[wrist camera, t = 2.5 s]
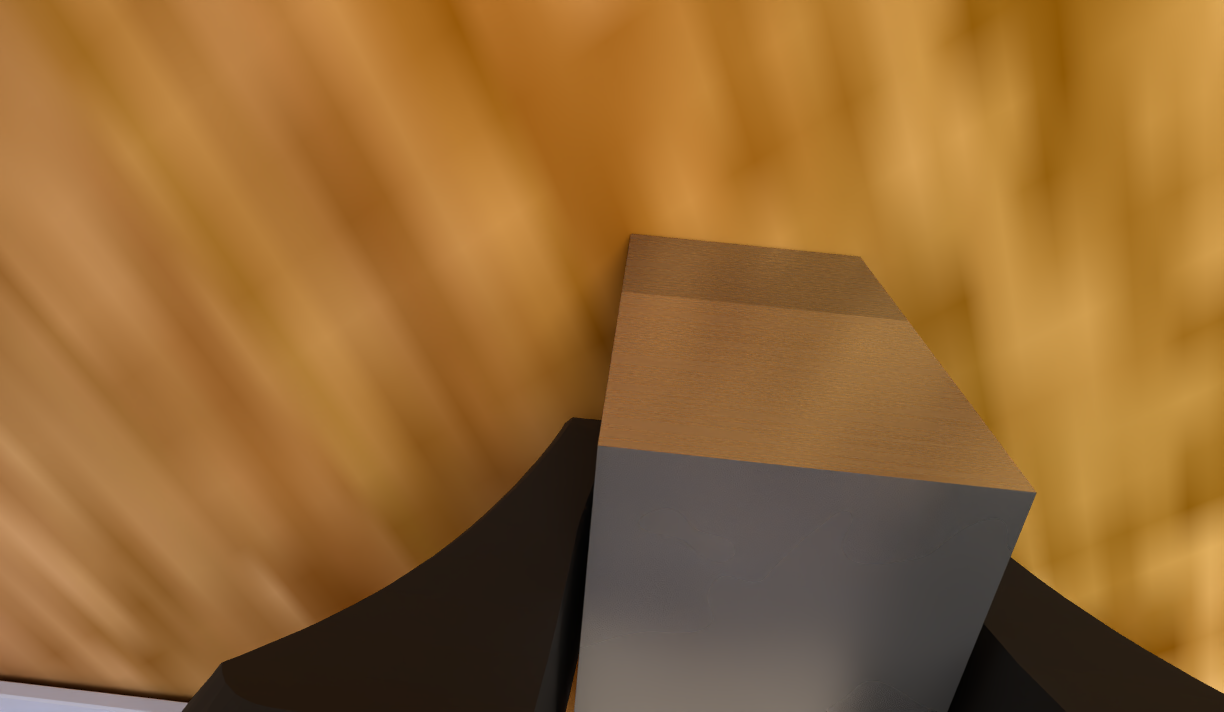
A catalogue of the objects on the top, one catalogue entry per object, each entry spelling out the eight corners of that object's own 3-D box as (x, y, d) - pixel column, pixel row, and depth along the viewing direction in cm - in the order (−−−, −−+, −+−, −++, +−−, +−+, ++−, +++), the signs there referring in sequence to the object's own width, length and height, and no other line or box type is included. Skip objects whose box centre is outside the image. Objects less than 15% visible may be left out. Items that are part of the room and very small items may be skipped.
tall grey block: (597, 582, 14) (555, 931, 9) (631, 233, 11) (598, 445, 6) (776, 603, 14) (843, 967, 9) (860, 256, 11) (1035, 492, 6)
